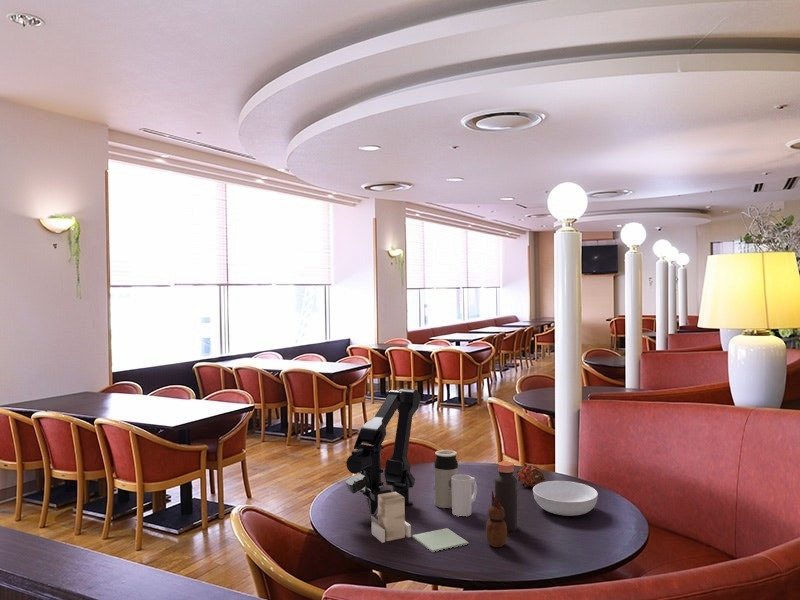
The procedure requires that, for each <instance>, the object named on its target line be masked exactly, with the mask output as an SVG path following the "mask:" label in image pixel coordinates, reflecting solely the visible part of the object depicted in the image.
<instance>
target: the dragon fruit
mask: <svg viewBox="0 0 800 600" xmlns="http://www.w3.org/2000/svg"><path fill="white" fill-rule="evenodd" d="M516 474H517V476H516V479H517V482H520V483H523V486H524V487H527V488H528V487H531V488H532V489H533V488H534V486H535V485H537V484H539V483H542V482H545V480H546V477H545V475H544V473H543V471H542V470H541V469H540V468H539V467H538V466H537V465H533V464H527V466H525V467H523V468H521V469H518V470H517V472H516Z"/></svg>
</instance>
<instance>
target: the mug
mask: <svg viewBox="0 0 800 600" xmlns="http://www.w3.org/2000/svg"><path fill="white" fill-rule="evenodd" d="M451 488H452V508H451V509H452V510H451V512H452V515H453V516H455V515H456V517H459V516H466V517H469V516H471V515H472V508H473V507H472V506H473V505H472V504H473V503H475V501H476V498H477V492H478V485H477V482H476V478H475V477H472V476H471V475H469V474H465V473H463V474H461V473H458V474H457V475H453V476H452V477H451Z"/></svg>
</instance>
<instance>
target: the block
mask: <svg viewBox="0 0 800 600" xmlns="http://www.w3.org/2000/svg"><path fill="white" fill-rule="evenodd" d="M405 508H406V505H405V497H403V496H402V495H400V494H399V493H397V492H391V493H385V494H379V495H378V507H377V514H378V525H379V526H380V527H382V528H383V529H384V530H385V542H391V541H394V540H399V539H404V538H405V537H406V536H405V521H406V518H405V517H406V513H405Z"/></svg>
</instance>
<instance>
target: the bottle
mask: <svg viewBox="0 0 800 600" xmlns="http://www.w3.org/2000/svg"><path fill="white" fill-rule="evenodd" d="M497 473H498V475H497V476H496V477H495V478H494V495H495V494H496V498H497V499H498V501H499V502H500V505H501V506H502V507H503V509H504V518H503V520H504V521H505V523H506V526H507V533H508V532H514V531H517V529H518V480H517V477H515V476H514V473H515V463H514V462H512V461H504V460H503V461H499V462H498V463H497Z"/></svg>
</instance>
